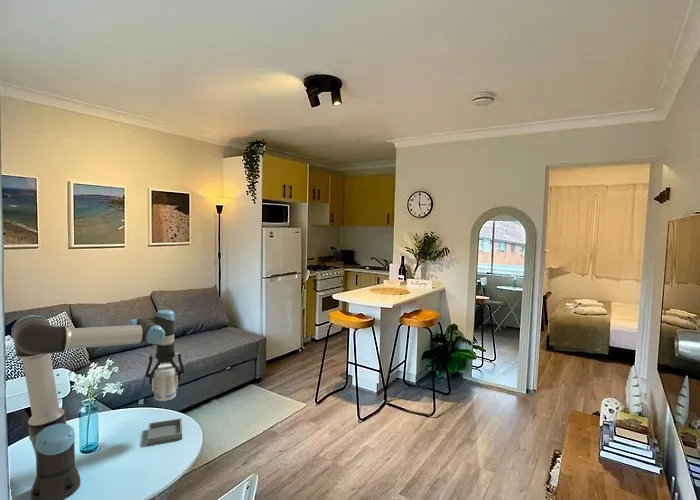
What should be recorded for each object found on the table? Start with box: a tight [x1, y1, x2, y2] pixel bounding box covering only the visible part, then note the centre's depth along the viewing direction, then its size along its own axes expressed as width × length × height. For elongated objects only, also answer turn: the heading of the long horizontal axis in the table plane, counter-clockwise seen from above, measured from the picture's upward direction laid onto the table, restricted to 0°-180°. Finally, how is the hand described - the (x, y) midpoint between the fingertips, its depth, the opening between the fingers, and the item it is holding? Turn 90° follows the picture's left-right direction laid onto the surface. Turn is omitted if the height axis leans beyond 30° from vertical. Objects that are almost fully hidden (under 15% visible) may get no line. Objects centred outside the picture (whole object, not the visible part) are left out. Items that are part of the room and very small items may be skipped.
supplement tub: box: [153, 363, 177, 402], centre depth 189 cm, size 10×10×15 cm
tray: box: [146, 417, 183, 446], centre depth 191 cm, size 15×15×3 cm
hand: (165, 388), depth 189 cm, fingers closed on supplement tub, 10 cm apart
